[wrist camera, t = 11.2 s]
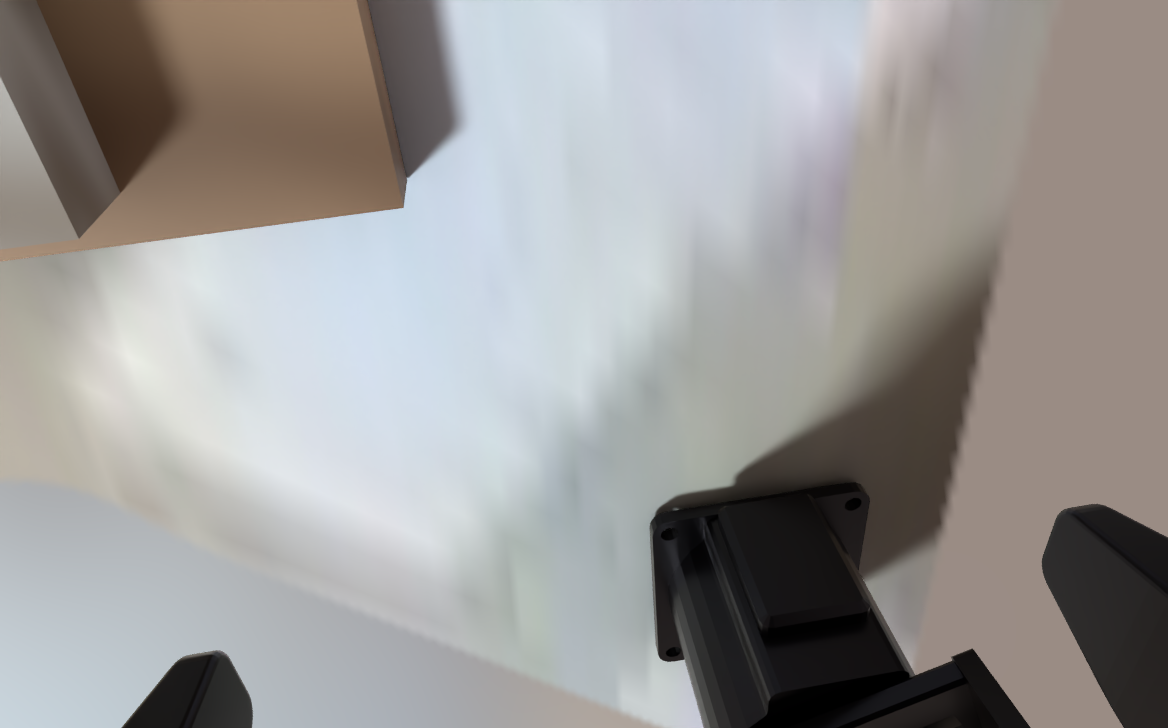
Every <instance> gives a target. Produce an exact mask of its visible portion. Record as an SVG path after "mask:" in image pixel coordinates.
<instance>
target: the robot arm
mask: <svg viewBox="0 0 1168 728" xmlns="http://www.w3.org/2000/svg"><path fill="white" fill-rule="evenodd" d="M850 499H851V500H850ZM848 500H849V501H848ZM869 502H870V501H869V496H868V495H867V493H866V491H865V490H864V488H863V487H862V486H861V484H858V483H856V482H852V483H843V484H837V485H831V486H825V487H819V488H812V489H806V490H800V491H794V492H788V493H781V494H775V495H769V496H763V497H757V498H751V499H744V500H738V501H732V502H726V503H720V504H713V505H707V506H701V507H695V508H689V509H683V510H676V511H670V512H665V513H662V514H659V515H657V516H656V517H654V519H653V520H652V521H651V523H650V544H651V563H652V581H653V600H654V619H655V638H656V647H657V651H658V655H659V657H660V659H662V660H663V661H667V662H671V661H679V660H684V659H685V662H686V666H687V669H688V673H689V677H690V680H691V684H692V687H693V691H694V694H695V698H696V701H697V705H698V709H699V712H700V716H701V719H702V723H703V726H704V728H1030V726H1029V725H1028V724H1027V722H1026V721H1025V720H1024V718H1023V717H1022V715H1021V714H1020V713H1019V711H1018V710H1017V709H1016V707H1015V706H1014V705H1013V703H1012V702H1011V700H1010V699H1009V698H1008V696H1007V695H1006V694H1005V692H1004V691H1003V690H1002V688H1001V687H1000V685H999V684H998V682H997V681H996V680H995V679H994V677H993V676H992V674H991V673H990V672H989V670H988V669H987V667H986V666H985V665H984V663H983V662H982V661H981V659H980V658H979V657H978V655H977V654H976V652H975V651H974V650H973V649H970V650H967V651H965V652H963V653H960V654H957V655H955V656H952V657H951V658H952V661H951V662H948V663H946V664H943V665H941V666H938V667H936V668H933V669H931V670H928V671H925V672H923V673H920V674H918V675H915V674H914V672H913V670H912V668H911V666H910V665H909V663H908V661H907V659H906V657H905V655H904V654H903V652H902V650H901V648H900V646H899V644H898V643H897V641H896V639H895V637H894V635H893V634H892V632H891V630H890V628H889V626H888V624H887V623H886V621H885V619H884V617H883V615H882V614H881V612H880V610H879V608H878V606H877V604H876V603H875V601H874V599H873V597H872V595H871V593H870V592H869V590H868V588H867V586H866V584H865V583H864V581H863V579H862V577H861V575H860V573H859V572H858V570H859V564H860V557H861V551H862V545H863V539H864V533H865V527H866V520H867V514H868V508H869ZM668 528H672V529H670V530H667V531H664V530H665V529H668ZM1042 569H1043V574H1044V578H1045V580H1046V583H1047V585H1048V587H1049V589H1050V590H1051V592H1052V594H1053V596H1054V598H1055V600H1056V602H1057V604H1058V606H1059V608H1060V610H1061V612H1062V614H1063V616H1064V617H1065V619H1066V622H1067V623H1068V625H1069V627H1070V629H1071V631H1072V633H1073V635H1074V637H1075V639H1076V641H1077V643H1078V645H1079V647H1080V649H1081V650H1082V653H1083V654H1084V656H1085V658H1086V660H1087V662H1088V664H1089V666H1090V668H1091V670H1092V672H1093V673H1094V676H1095V678H1096V680H1097V682H1098V684H1099V685H1100V687H1101V689H1102V691H1103V693H1104V695H1105V697H1106V698H1107V700H1108V702H1109V704H1110V706H1111V707H1112V709H1113V711H1114V712H1115V714H1116V716H1117V717H1118V719H1119V721H1120V722H1121V724H1122V725H1123V727H1124V728H1168V537H1166V536H1164V535H1162V534H1160V533H1158V532H1156V531H1154V530H1152V529H1150V528H1148V527H1146V526H1144V525H1143V524H1141V523H1139V522H1137V521H1134V520H1133V519H1131V518H1129V517H1127V516H1125V515H1123V514H1121V513H1119V512H1117V511H1115V510H1113V509H1111V508H1109V507H1107V506H1104V505H1100V504H1091V505H1084V506H1079V507H1072V508H1068V509H1064V510H1063V511H1061V512H1060V513H1059V515H1058V516H1057V518H1056V520H1055V523H1054V526H1053V529H1052V532H1051V535H1050V537H1049V540H1048V543H1047V546H1046V549H1045V552H1044V554H1043V558H1042ZM252 720H253V710H252V703H251V699H250V696H249V694H248V691H247V690H246V688H245V686H244V684H243V682H242V680H241V678H240V677H239V675H238V673H237V671H236V669H235V667H234V666H233V664H232V662H231V660H230V658H229V657H228V656H227V654H225V653H224V652H222V651H211V652H204V653H198V654H192V655H188V656H185V657H182V658H181V659H179V660H178V661H177V662H176V663H175V664H174V665H173V666H172V667H171V668H170V669H169V671H168V672H167V673H166V674H165V675H164V677H163V678H162V679H161V680H160V682H159V683H158V684H157V685H156V686H155V688H154V689H153V690H152V691H151V693H150V694H149V695H148V696H147V697H146V699H145V700H144V701H143V702H142V704H141V705H140V706H139V707H138V708H137V710H136V711H135V712H134V713H133V714H132V716H131V717H130V718H129V719H128V720H127V722H126V723H125V724H124V725H123V727H122V728H252Z"/></svg>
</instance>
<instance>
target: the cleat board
mask: <svg viewBox="0 0 1168 728" xmlns="http://www.w3.org/2000/svg"><path fill="white" fill-rule="evenodd" d="M406 183H407V178H406V174H405V169H404V164H403V160H402V155H401V151H400V146H399V142H398V137H397V133H396V128H395V123H394V119H393V114H392V110H391V105H390V101H389V96H388V92H387V87H386V82H385V78H384V73H383V69H382V64H381V60H380V55H379V51H378V46H377V42H376V37H375V32H374V28H373V23H372V19H371V14H370V10H369V5H368V1H367V0H0V261H7V260H15V259H22V258H30V257H37V256H45V255H52V254H60V253H67V252H75V251H82V250H90V249H97V248H105V247H112V246H120V245H127V244H135V243H142V242H150V241H157V240H165V239H172V238H180V237H188V236H195V235H203V234H210V233H218V232H225V231H233V230H240V229H248V228H255V227H263V226H270V225H278V224H285V223H293V222H300V221H308V220H315V219H323V218H330V217H338V216H345V215H353V214H360V213H368V212H375V211H383V210H390V209H398V208H403V207H404V199H405V191H406Z"/></svg>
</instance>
